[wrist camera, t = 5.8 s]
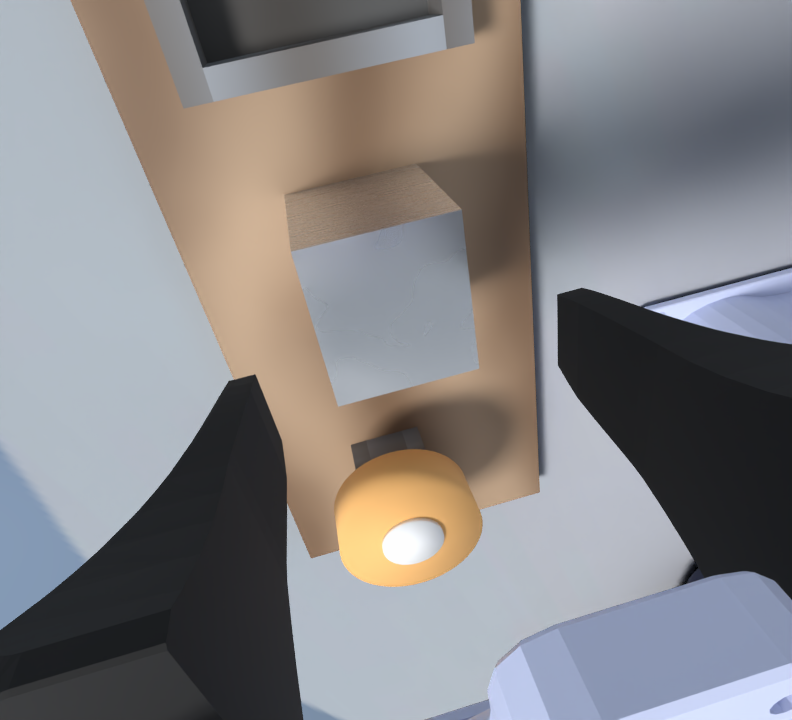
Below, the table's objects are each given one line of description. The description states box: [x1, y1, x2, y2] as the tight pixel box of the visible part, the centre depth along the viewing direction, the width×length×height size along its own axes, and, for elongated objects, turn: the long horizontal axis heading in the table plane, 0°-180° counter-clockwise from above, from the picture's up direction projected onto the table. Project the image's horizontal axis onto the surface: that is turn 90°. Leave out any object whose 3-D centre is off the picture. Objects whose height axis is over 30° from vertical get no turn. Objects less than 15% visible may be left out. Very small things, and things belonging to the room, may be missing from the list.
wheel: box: [334, 449, 483, 587], centre depth 23 cm, size 6×6×5 cm
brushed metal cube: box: [284, 164, 479, 407], centre depth 17 cm, size 4×5×5 cm
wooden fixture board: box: [71, 0, 540, 558], centre depth 18 cm, size 12×30×4 cm, turn 10°
